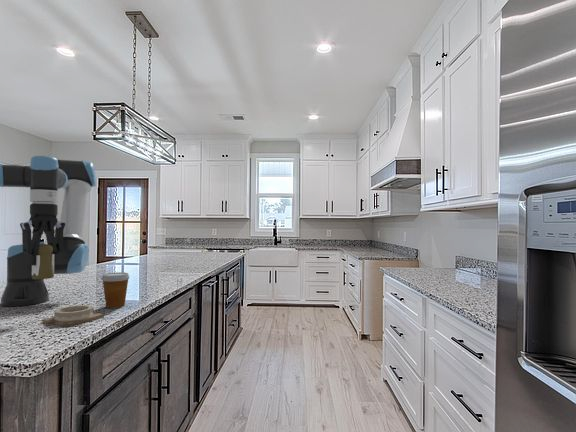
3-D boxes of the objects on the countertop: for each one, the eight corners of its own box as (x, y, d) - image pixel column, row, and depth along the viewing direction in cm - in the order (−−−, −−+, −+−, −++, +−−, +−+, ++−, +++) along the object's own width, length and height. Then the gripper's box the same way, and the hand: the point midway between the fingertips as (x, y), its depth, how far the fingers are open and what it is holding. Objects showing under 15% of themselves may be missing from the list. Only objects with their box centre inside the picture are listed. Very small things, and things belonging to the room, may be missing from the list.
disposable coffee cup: (100, 310, 124) (101, 276, 125) (101, 304, 133) (101, 273, 133) (130, 307, 129) (130, 274, 129) (128, 302, 137) (128, 271, 138)
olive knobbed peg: (58, 276, 118) (59, 243, 118) (44, 279, 112) (44, 245, 112) (42, 276, 118) (42, 243, 118) (26, 279, 112) (27, 244, 112)
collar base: (42, 322, 109) (42, 311, 109) (77, 313, 120) (77, 303, 120) (69, 326, 104) (69, 315, 104) (103, 316, 116) (104, 306, 116)
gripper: (24, 201, 106) (23, 279, 106) (76, 204, 122) (75, 271, 122) (8, 202, 109) (7, 277, 108) (61, 204, 125) (60, 270, 124)
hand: (43, 274), depth 115 cm, fingers closed on olive knobbed peg, 4 cm apart
